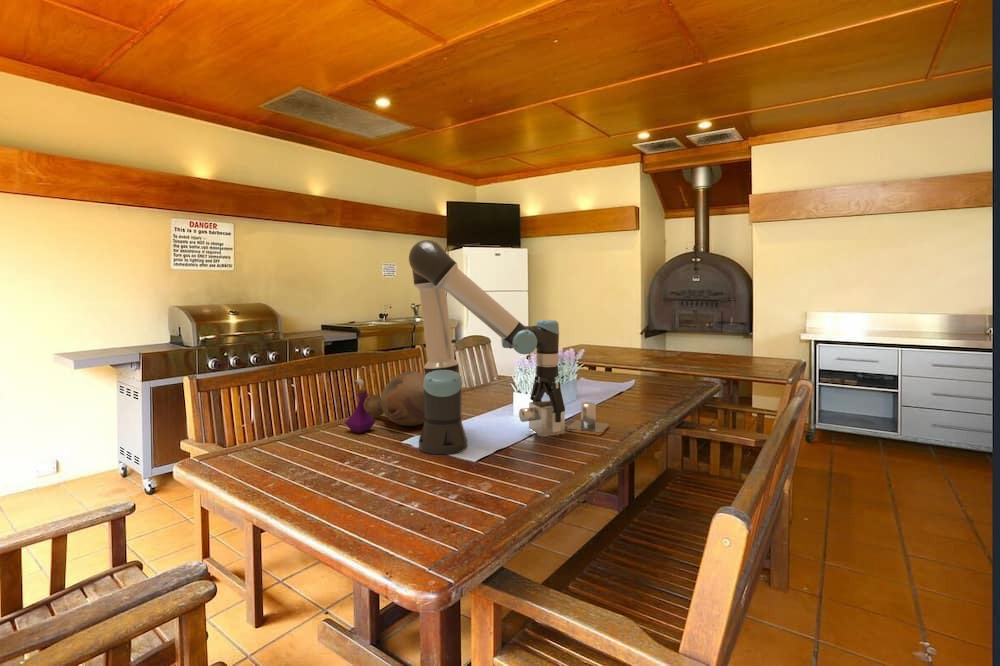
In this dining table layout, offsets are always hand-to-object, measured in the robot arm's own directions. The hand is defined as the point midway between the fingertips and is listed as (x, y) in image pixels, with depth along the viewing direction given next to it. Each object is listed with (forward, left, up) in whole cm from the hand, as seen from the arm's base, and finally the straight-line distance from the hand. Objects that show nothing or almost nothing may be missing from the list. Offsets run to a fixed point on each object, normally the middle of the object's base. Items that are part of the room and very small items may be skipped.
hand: (546, 426), depth 177 cm
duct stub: (+12, +10, -2) cm, 16 cm away
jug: (-53, -11, -2) cm, 54 cm away
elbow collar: (-2, -2, -2) cm, 3 cm away
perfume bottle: (-59, -26, -2) cm, 64 cm away
